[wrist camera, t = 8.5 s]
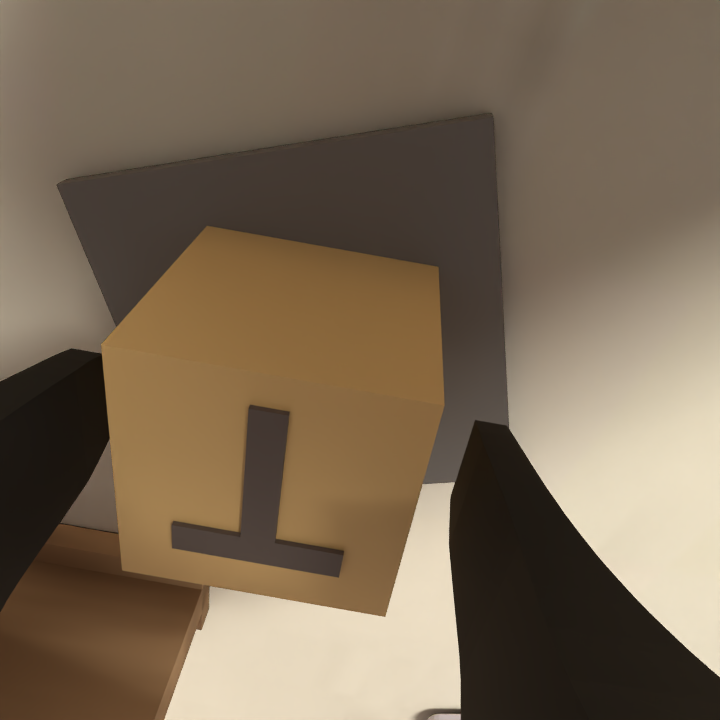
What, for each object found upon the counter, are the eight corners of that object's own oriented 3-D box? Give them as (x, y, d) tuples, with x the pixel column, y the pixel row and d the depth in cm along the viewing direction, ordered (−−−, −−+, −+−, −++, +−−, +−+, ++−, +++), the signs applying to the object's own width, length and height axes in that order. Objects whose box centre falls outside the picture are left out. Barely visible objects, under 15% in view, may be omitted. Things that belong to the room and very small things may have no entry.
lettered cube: (395, 447, 16) (384, 624, 11) (204, 413, 16) (119, 578, 11) (438, 266, 13) (444, 409, 9) (207, 225, 13) (97, 348, 9)
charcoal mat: (509, 468, 16) (511, 478, 16) (193, 487, 18) (188, 497, 17) (491, 112, 12) (493, 116, 11) (66, 179, 13) (56, 184, 13)
